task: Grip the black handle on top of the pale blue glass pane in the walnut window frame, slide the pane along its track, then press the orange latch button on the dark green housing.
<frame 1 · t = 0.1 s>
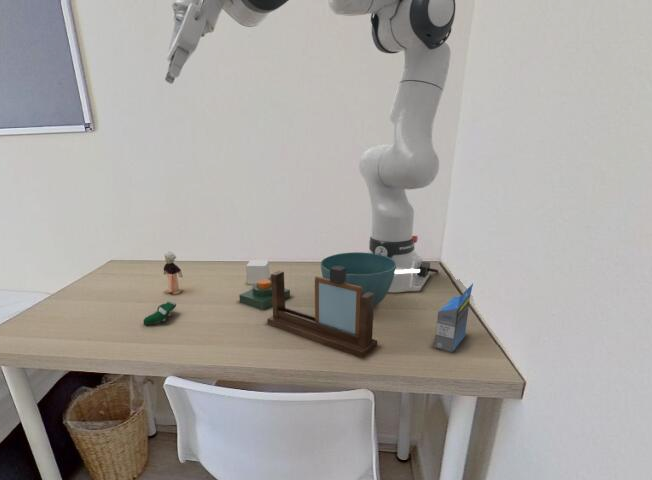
hand: (170, 79, 80), 54 cm above the table, tool tilted 30°, fingers open, 8 cm apart
blue cardboard box: (449, 342, 83), on the table
window frame: (318, 334, 89), on the table
latch button: (264, 284, 108), point 4 cm above the table, slide at 0.1 cm
grandmother figurine: (174, 293, 118), on the table
latch housing: (265, 299, 110), on the table
window pane: (337, 301, 83), point 9 cm above the table, slide at 0.0 cm
green shoe: (162, 319, 101), on the table
white cube: (258, 281, 124), on the table
plant pot: (356, 308, 102), on the table
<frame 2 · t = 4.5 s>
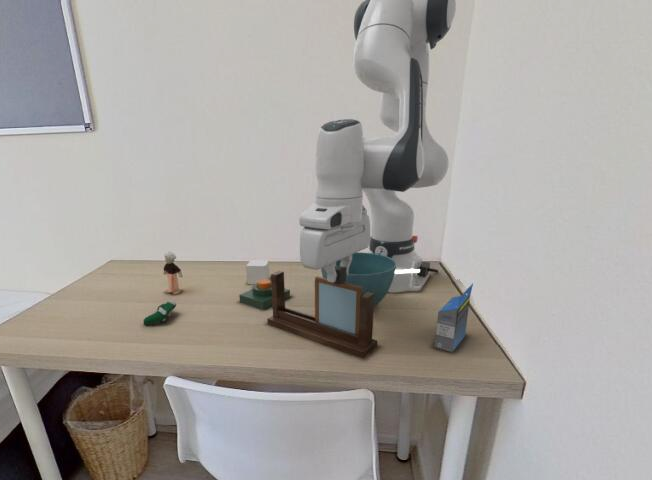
hand: (337, 278, 81), 15 cm above the table, tool pointing down, fingers closed on window pane, 2 cm apart
window pane: (337, 301, 83), point 9 cm above the table, slide at 0.0 cm, touching gripper
everything else where it was.
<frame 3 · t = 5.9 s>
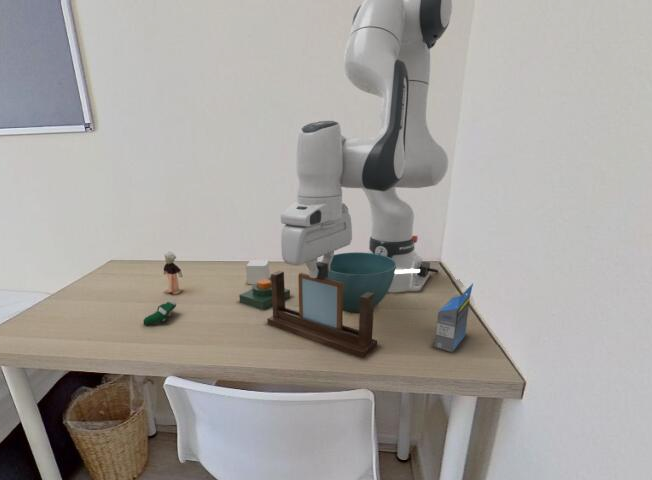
hand: (319, 274, 84), 15 cm above the table, tool pointing down, fingers closed on window pane, 2 cm apart
window pane: (319, 297, 85), point 9 cm above the table, slide at 4.5 cm, touching gripper
everything else where it was.
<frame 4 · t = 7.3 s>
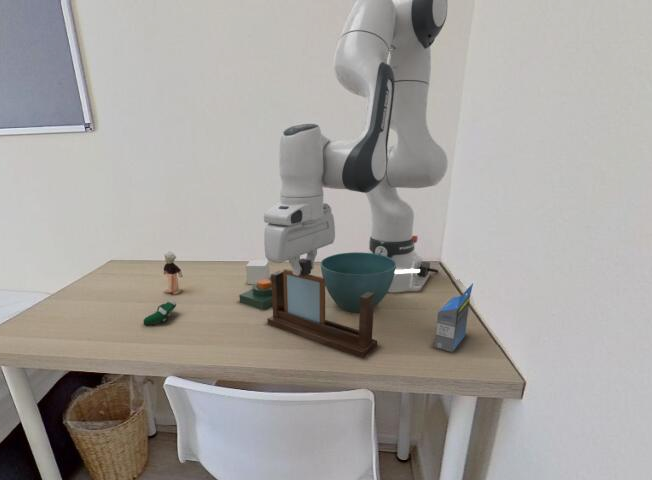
hand: (303, 272, 87), 14 cm above the table, tool pointing down, fingers closed on window pane, 2 cm apart
window pane: (303, 292, 88), point 9 cm above the table, slide at 9.0 cm, touching gripper
everything else where it was.
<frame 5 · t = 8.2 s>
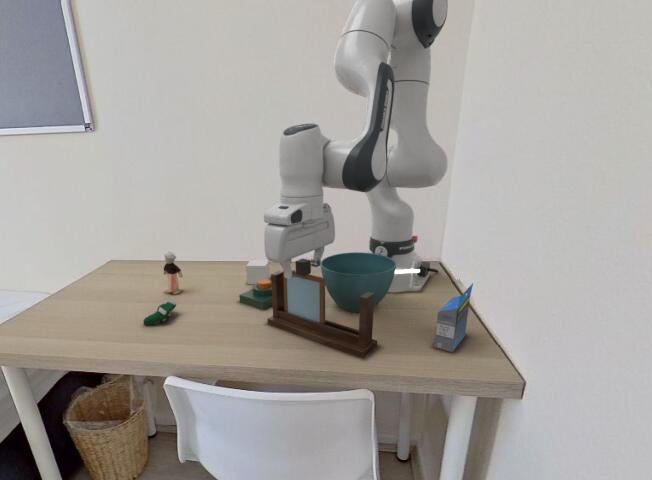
hand: (303, 271, 87), 14 cm above the table, tool pointing down, fingers open, 8 cm apart
window pane: (303, 292, 88), point 9 cm above the table, slide at 9.0 cm
everything else where it was.
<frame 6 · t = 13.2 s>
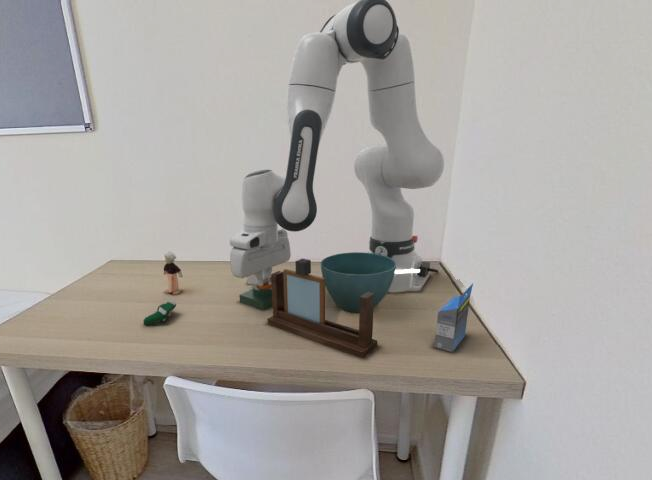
hand: (263, 284, 108), 5 cm above the table, tool pointing down, fingers closed, pressing on latch button
latch button: (264, 286, 108), point 4 cm above the table, slide at -0.6 cm, touching gripper
everything else where it was.
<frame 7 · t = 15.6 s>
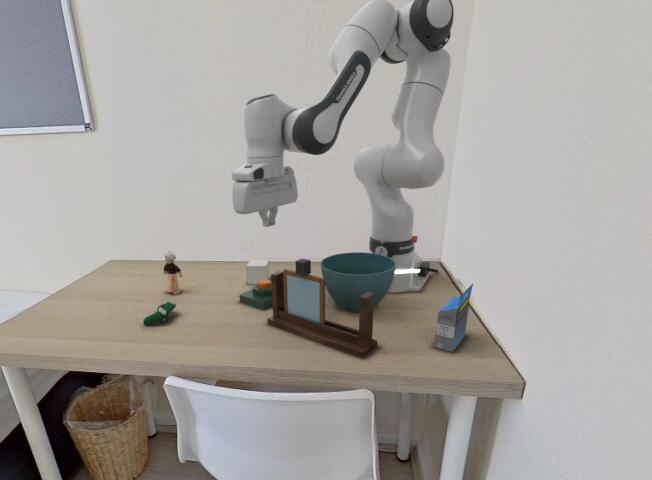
hand: (269, 225, 100), 21 cm above the table, tool pointing down, fingers closed
latch button: (264, 284, 108), point 4 cm above the table, slide at 0.1 cm
everything else where it was.
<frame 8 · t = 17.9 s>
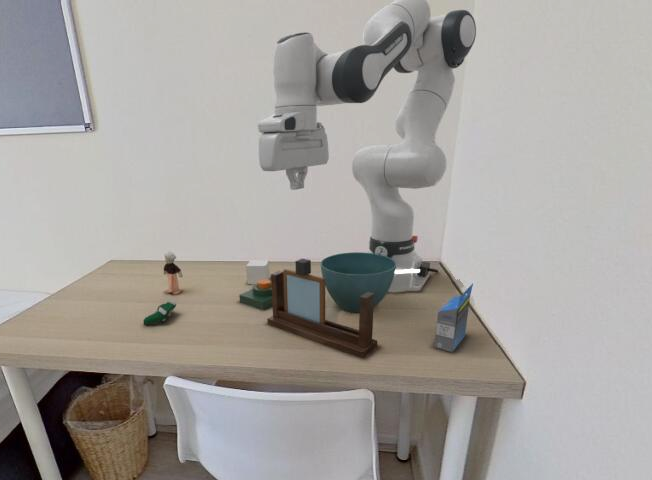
hand: (297, 188, 88), 31 cm above the table, tool pointing down, fingers closed
nothing on the table moved.
at the end: window pane slide at 9.0 cm; latch button pushed in 1.1 cm at the most during the clip, back to where it started at the end; latch button slide at 0.1 cm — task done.
